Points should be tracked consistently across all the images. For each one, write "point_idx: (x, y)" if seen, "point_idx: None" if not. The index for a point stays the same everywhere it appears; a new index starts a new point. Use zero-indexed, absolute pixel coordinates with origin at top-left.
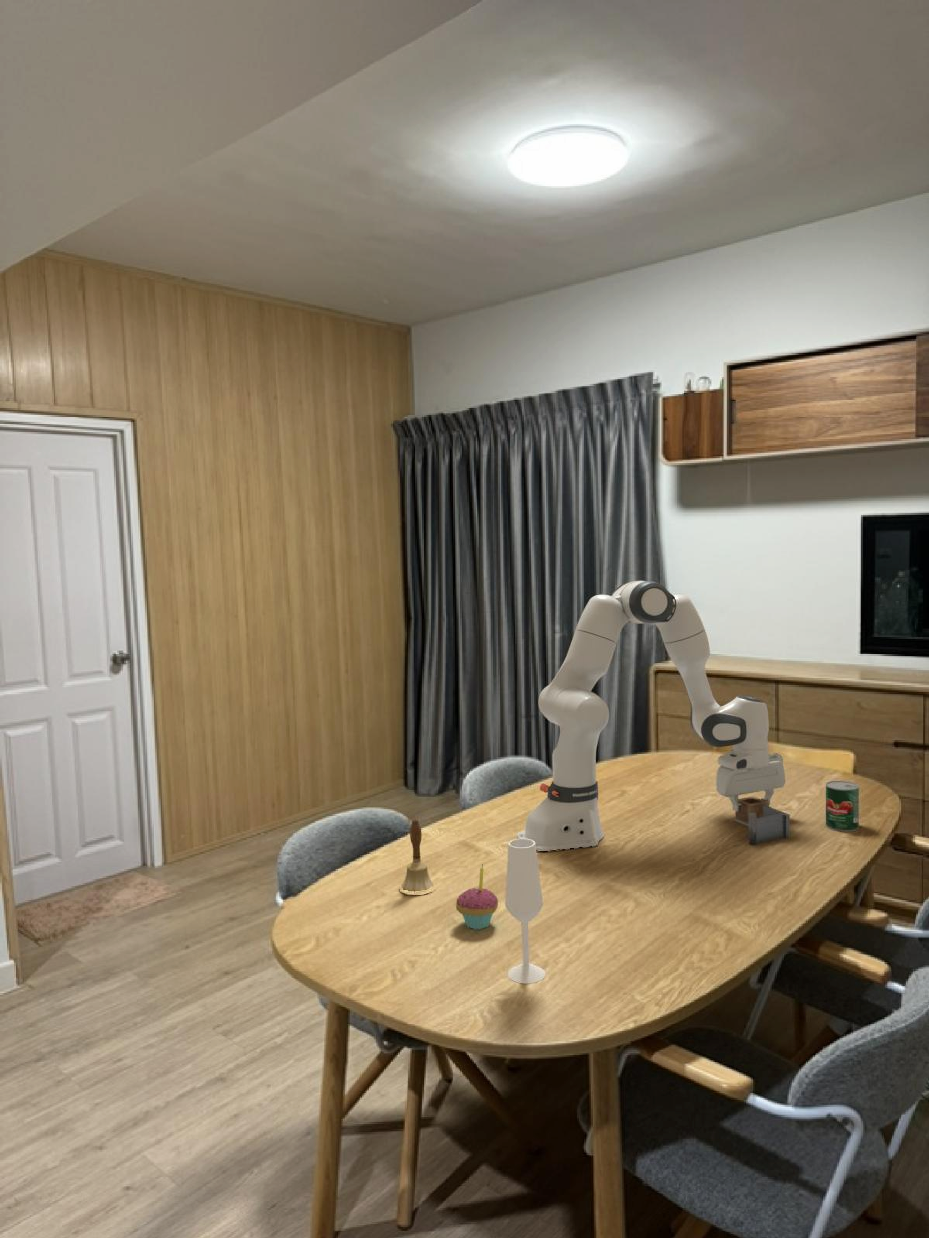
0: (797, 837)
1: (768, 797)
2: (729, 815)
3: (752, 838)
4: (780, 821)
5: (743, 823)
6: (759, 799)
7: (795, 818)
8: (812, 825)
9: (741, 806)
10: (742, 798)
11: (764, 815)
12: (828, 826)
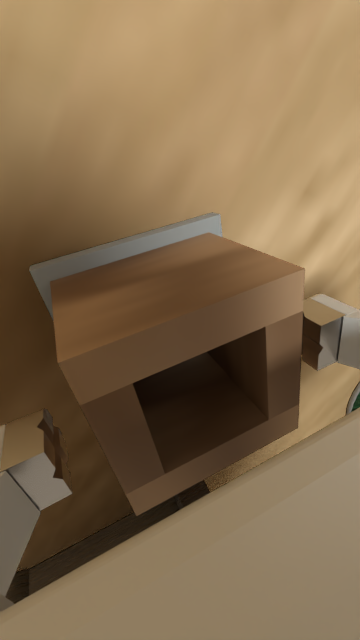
0: (218, 487)
1: (357, 361)
2: (36, 145)
3: None
4: None
5: None
6: (288, 367)
7: (344, 300)
8: (331, 380)
9: (69, 477)
10: (168, 327)
11: (178, 497)
12: (353, 405)
